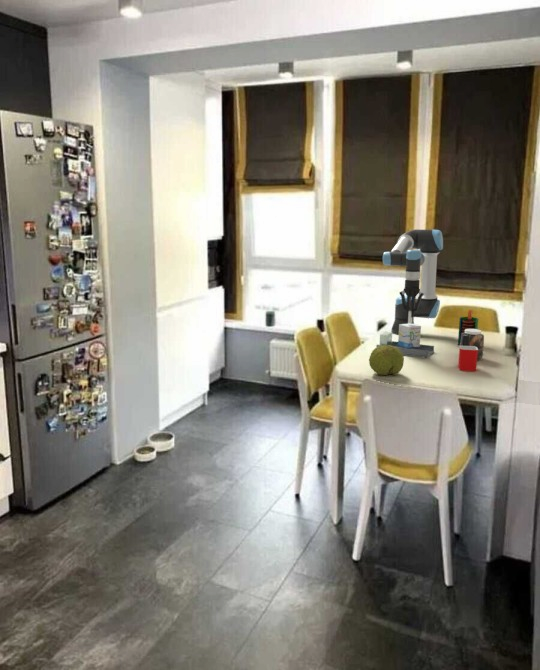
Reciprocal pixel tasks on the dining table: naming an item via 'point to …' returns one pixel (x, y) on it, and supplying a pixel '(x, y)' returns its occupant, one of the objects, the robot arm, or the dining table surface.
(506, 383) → the dining table surface
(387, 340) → the rail cradle
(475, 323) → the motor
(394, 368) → the fruit
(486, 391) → the dining table surface
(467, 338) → the jar
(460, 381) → the dining table surface
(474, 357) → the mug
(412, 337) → the ink box
